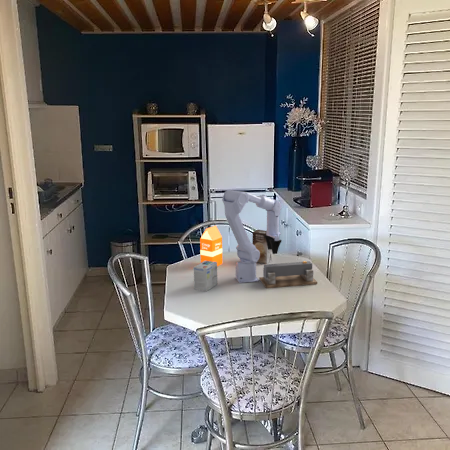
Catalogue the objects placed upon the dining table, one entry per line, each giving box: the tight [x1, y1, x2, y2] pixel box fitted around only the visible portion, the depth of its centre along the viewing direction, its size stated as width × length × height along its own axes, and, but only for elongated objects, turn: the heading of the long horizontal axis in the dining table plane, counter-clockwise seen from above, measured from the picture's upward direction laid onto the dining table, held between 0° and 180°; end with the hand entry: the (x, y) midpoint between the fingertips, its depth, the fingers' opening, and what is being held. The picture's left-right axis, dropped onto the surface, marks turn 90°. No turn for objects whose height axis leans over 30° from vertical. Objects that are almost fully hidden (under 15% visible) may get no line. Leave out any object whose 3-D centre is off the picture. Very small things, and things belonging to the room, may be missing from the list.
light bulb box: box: [193, 261, 218, 292], centre depth 212 cm, size 11×7×11 cm, turn 154°
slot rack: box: [258, 267, 318, 289], centre depth 218 cm, size 24×12×6 cm, turn 101°
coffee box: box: [251, 229, 273, 265], centre depth 248 cm, size 9×6×16 cm
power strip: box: [263, 260, 313, 278], centre depth 218 cm, size 22×4×6 cm, turn 101°
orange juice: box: [199, 225, 223, 267], centre depth 243 cm, size 8×9×20 cm
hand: (272, 251), depth 230 cm, fingers open, 7 cm apart
